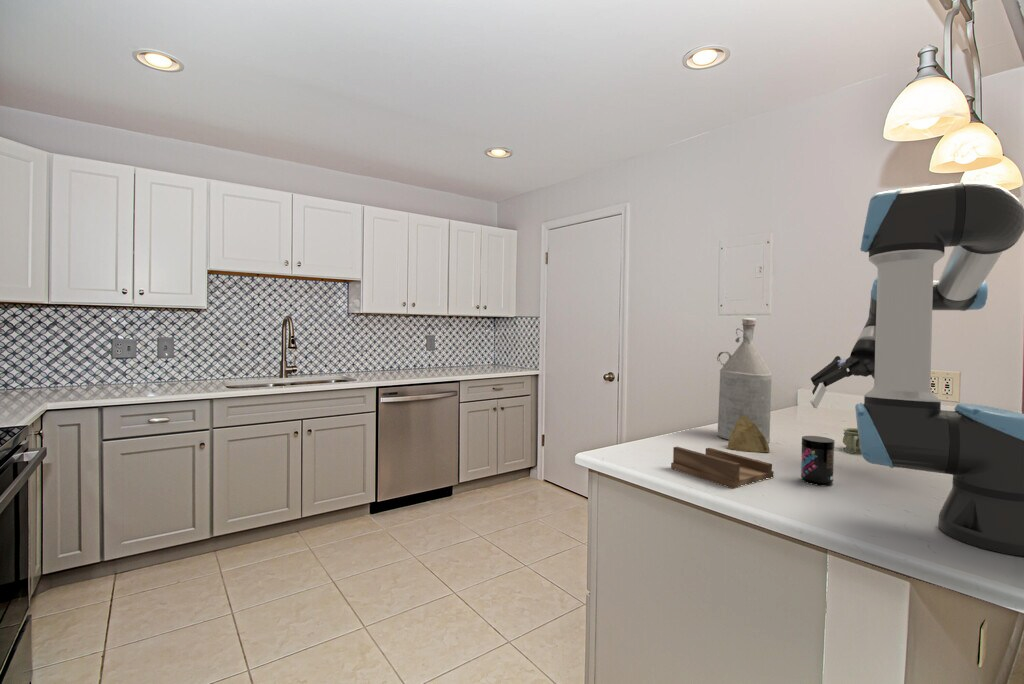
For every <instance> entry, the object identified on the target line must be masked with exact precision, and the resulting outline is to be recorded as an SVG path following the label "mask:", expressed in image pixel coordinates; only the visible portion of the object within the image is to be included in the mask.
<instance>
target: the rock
mask: <svg viewBox="0 0 1024 684" xmlns="http://www.w3.org/2000/svg"><path fill="white" fill-rule="evenodd" d="M726 449H727V450H735V451H741V452H752V453H753V452H755V453H770V451H771V450H770V446H769V442H768V443H767V441H766V439H765V437H764V436H763V434H762V433H761V432H760V431H759V429H758V428H757V426H756V425H755V424H754V423H753V422H752V421H751V420H750V419H749V418H747V417H745V416H744V417H743V416H740V418H739V420H738V421H737V423H736V425H735V428H734V430H733V432H732V434H731V436H730V440H729V441H728V444H727V447H726Z"/></svg>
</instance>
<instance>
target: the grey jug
mask: <svg viewBox="0 0 1024 684" xmlns="http://www.w3.org/2000/svg"><path fill="white" fill-rule="evenodd" d="M741 321H742V323H741V325H742V328H741V329H740V328H738V327H737V328H736V330H735V334H736V336H737V337H736V339H735V343H737V344H739V343H740V339H741V338H742V342H741V343H740V344H739V346H738V347H737V348H736V350H735V351H734V353H733V354H731V353H730V352H728V351H720V352H719V353H718V355H717V357H716V360H717V362H719V364H720V365H722V367H721V369H719V393H718V415H717V420H718V421H717V432H716V433H717V435H718V437H720V438H723V439H726V440H730V436H731V434H732V432H733V430H734V428H735V425H736V423H737V421H738V420H739V418H740V416H743V417H744V416H745V417H747V418H749V419H750V420H751V421H752V422H753V423H754V424H755V425H756V426H757V428H758V429H759V431H760V432H761V433H762V434H763V436H764V437H765V439H766V441H767V443H768V444H769V443H770V440H771V439H770V438H771V437H770V435H771V433H770V432H771V411H772V410H771V406H772V404H771V403H772V378H773V373H771V371H770V369H769V368H768V367H769V366H768V365H767V364H766V362H765V361H764V359H763V358H762V356H761V354H760V353H759V350H758V349H757V348H756V345H754V343H753V341H754V340H753V339H754V330H755V326H756V323H757V322H756V321H757V319H756V318H755V317H743V318H742V319H741ZM738 330H740V331H741V332H742V336H739V335H738ZM722 354H727V355H728V359H727V360H726V362H725V363H723V362H722V361H721V358H719V357H721V355H722Z"/></svg>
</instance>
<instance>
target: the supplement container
mask: <svg viewBox="0 0 1024 684" xmlns="http://www.w3.org/2000/svg"><path fill="white" fill-rule="evenodd" d="M835 444H836V443H835V439H833V438H830V437H826V436H825V437H824V436H819V435H802V437H801V462H800V463H801V465H800V478H801V480H802V481H803V480H804V481H803V482H804V483H807V482H808V483H807V484H810V483H812V484H811V485H814V484H817V485H816V486H821V485H827V486H830V484H831V485H832V484H833V483H834V467H835V466H834V464H835V462H834V460H835V458H834V457H835Z"/></svg>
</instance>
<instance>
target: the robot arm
mask: <svg viewBox="0 0 1024 684" xmlns="http://www.w3.org/2000/svg"><path fill="white" fill-rule="evenodd" d="M865 218H866V219H865V222H864V226H863V234H862V238H861V244H860V248H859V249H860V251H861V252H864V253H868V261H869V262H870V263H871V264H873V266H875V267H876V269H877V273H876V274H877V276H876V277H875V279H874V281H873V282H872V283H873V284H872V288H871V289H870V301H869V302H870V304H869V311H868V318H867V320H866V323H865V324H864V327H863V329H862V330H861V332H860V334H859V336H858V337H857V340H856V342H855V344H854V346H853V348H852V350H851V351H850V355H849V357H848V358H841V356H839V355H837V356H835V357H834V358H833V360H832V361H831V362H830V363H829V364H827V365H826V366H824V367H823V368H822V369H820V370H819V371H818V372H816V373H815V374H814V375H813V376H812V377H811V378H810V380H811V383H812V384H813V386H814V387H813V389H812V395H813V396H812V397H811V399H810V404H811V406H812V407H813V408H814V409H818V407H819V405H820V403H821V402H822V399H823V397H824V395H825V393H826V392H827V388H826V387H828V386H830V385H832V384H834V383H836V382H838V381H840V380H842V379H844V378H849V377H851V376H853V377H854V376H855V377H858V376H862V377H865V378H866V377H868V376H871V377H872V378H873V380H874V383H873V387H872V388H871V389H870V390H869V391H867V392H866V393H865V394H864V397H863V398H864V400H863V401H864V403H863V402H860V403H856V405H855V407H854V408H855V417H856V418H855V419H856V426H857V427H856V428H858V436H859V443H860V449H861V454H862V455H861V454H860V455H861V456H862V458H863V459H864V460H865V461H866V462H867V463H870V464H872V465H879V466H884V467H889V468H891V469H894V468H898V469H908V470H913V471H921V472H929V473H936V474H944V475H952V485H951V489H950V492H949V494H948V496H947V498H946V499H945V501H944V503H943V506H942V507H941V509H940V511H939V514H938V518H937V519H938V523H937V524H938V525H937V527H938V528H939V529H940V531H942V532H943V533H944V534H946V535H948V536H949V537H951V538H953V539H956V540H958V541H959V542H963V543H965V544H969V545H972V546H975V547H978V548H980V549H984V550H985V549H986V550H989V551H992V552H996V553H997V552H998V553H1002V554H1006V555H1007V554H1008V555H1013V556H1020V557H1024V413H1022V412H1018V411H1013V410H1009V409H1008V410H1007V409H1003V408H999V407H998V408H997V407H993V406H987V405H982V404H981V405H979V404H976V403H975V404H974V403H964V402H963V403H956V406H954V408H953V409H954V411H953V410H943V409H941V408H942V407H941V403H942V402H941V399H940V398H939V397H938V396H937V395H936V394H934V393H933V392H932V390H931V378H932V377H931V374H932V373H931V372H932V333H933V332H932V331H933V311H960V312H965V311H972V310H974V311H977V310H981V309H983V308H984V307H985V306H986V304H987V303H986V302H987V300H988V293H989V291H988V290H989V289H988V283H987V281H986V279H987V277H988V276H989V274H990V273H991V271H992V269H994V268H993V267H995V264H996V263H997V261H998V260H999V258H1000V257H1001V255H1002V254H1003V252H1006V251H1008V250H1010V248H1012V247H1014V246H1015V245H1016V244H1017V243H1018V241H1019V240H1020V239H1021V237H1022V236H1023V233H1024V206H1023V204H1022V203H1021V200H1019V199H1018V198H1017V197H1016V196H1015V195H1014V194H1013V193H1011V192H1010V191H1009V190H1007V189H1005V188H1003V187H1001V186H1000V185H996V184H993V183H990V182H985V181H975V180H974V181H971V180H970V181H962V182H957V183H948V184H947V183H945V184H937V185H936V184H935V185H925V186H914V187H905V188H897V189H893V190H887V191H881V192H877V193H875V194H874V195H873V196H871V198H870V200H869V202H868V207H867V213H866V217H865ZM947 247H950V248H951V247H953V248H952V250H951V252H950V255H949V256H948V260H947V261H946V264H945V266H944V268H943V270H942V272H941V275H940V277H939V279H934V266H935V264H936V263H938V262H939V261H940V260H941V259H942V258H943V257H944V256H945V248H947ZM848 370H849V371H848Z"/></svg>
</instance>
